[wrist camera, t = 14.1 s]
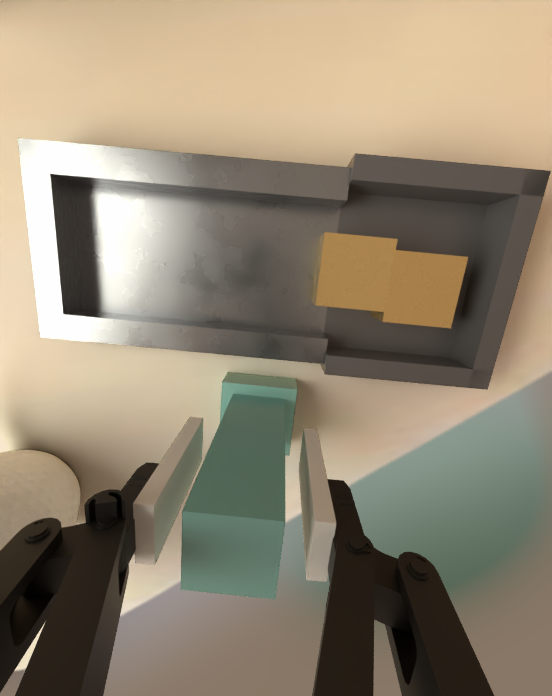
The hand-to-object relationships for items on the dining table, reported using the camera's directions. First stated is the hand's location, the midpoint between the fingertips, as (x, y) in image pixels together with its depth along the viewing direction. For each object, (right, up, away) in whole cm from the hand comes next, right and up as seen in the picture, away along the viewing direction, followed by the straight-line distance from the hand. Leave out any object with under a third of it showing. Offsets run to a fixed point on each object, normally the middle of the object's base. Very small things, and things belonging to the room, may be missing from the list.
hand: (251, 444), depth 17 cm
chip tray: (+10, +10, +2) cm, 14 cm away
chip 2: (+10, +9, +2) cm, 14 cm away
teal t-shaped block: (0, +1, +5) cm, 5 cm away
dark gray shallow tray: (-4, +11, +2) cm, 12 cm away
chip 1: (+6, +10, +2) cm, 12 cm away
